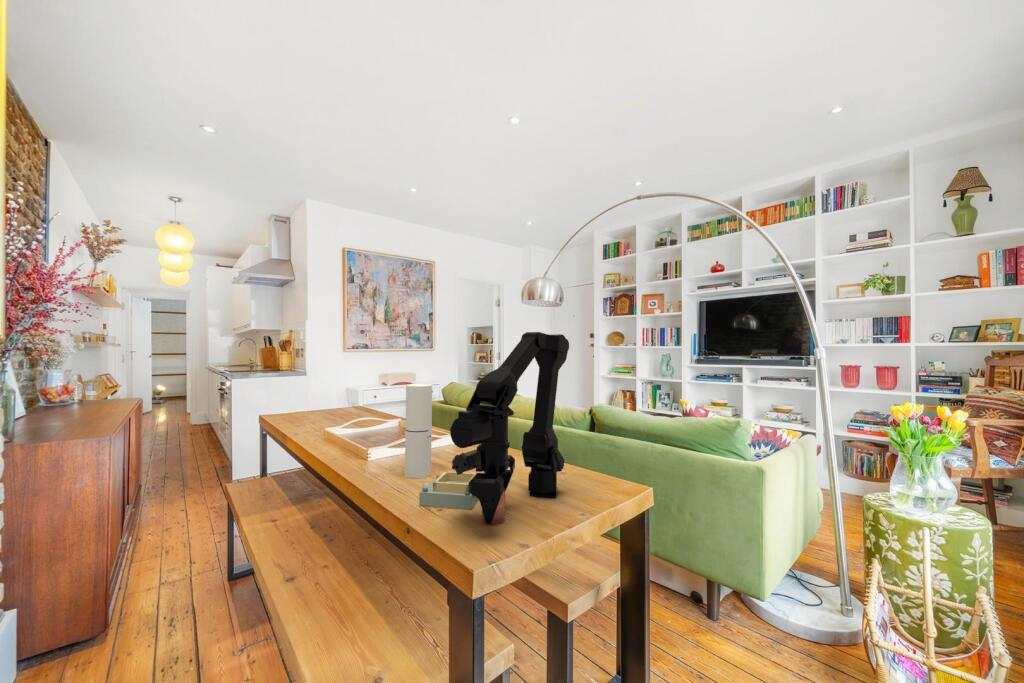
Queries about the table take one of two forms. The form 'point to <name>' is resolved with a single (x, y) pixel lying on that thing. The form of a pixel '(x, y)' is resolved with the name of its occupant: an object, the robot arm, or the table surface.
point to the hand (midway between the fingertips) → (493, 514)
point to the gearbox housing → (448, 491)
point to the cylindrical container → (418, 430)
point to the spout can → (497, 511)
